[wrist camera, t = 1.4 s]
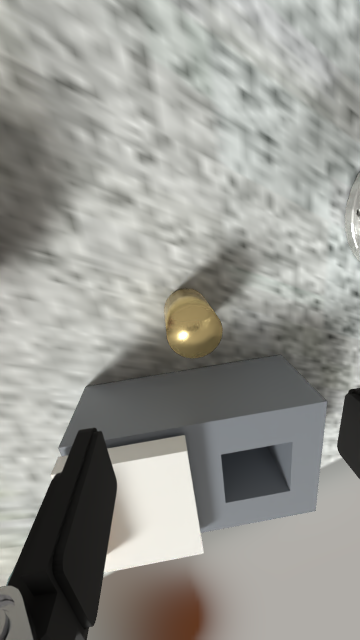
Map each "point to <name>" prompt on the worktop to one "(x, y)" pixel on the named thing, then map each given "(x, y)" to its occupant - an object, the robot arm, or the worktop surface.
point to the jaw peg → (191, 324)
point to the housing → (222, 434)
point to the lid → (151, 504)
